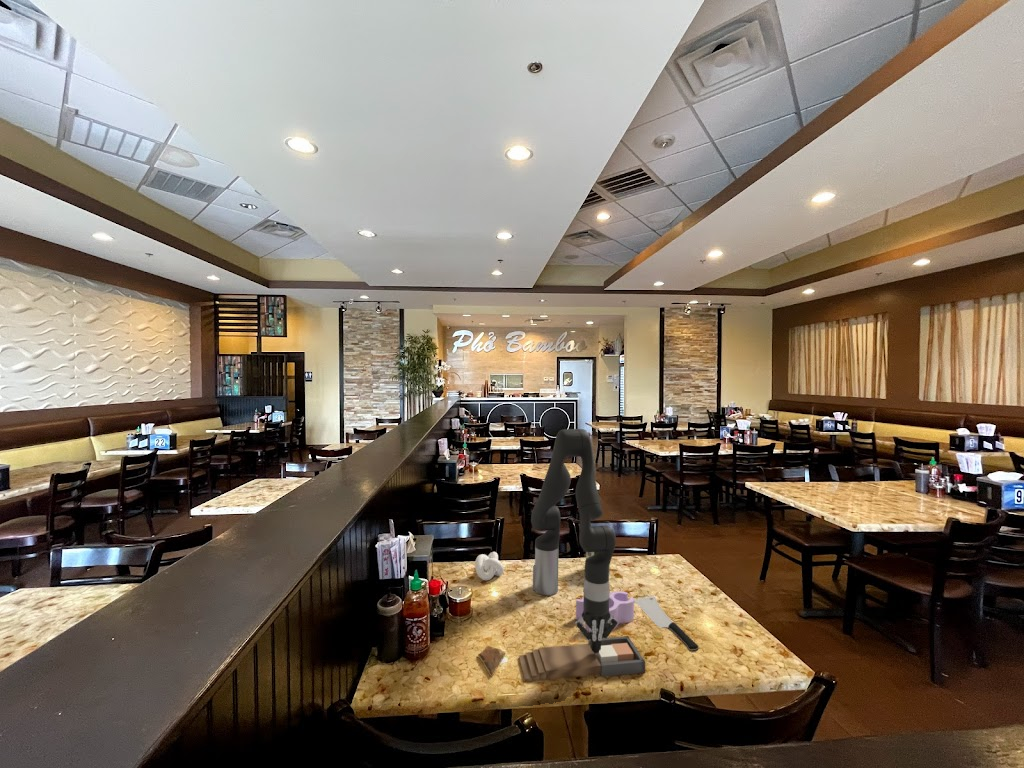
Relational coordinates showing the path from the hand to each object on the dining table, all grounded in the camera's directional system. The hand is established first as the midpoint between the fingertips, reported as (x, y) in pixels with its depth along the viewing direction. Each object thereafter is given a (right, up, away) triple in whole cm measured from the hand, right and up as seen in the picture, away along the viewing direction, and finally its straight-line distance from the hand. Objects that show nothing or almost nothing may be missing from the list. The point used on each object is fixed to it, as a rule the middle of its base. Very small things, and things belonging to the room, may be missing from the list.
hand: (595, 651), depth 127 cm
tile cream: (+3, -3, 0) cm, 4 cm away
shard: (-30, -4, 0) cm, 30 cm away
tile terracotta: (+8, -3, +1) cm, 9 cm away
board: (-8, -3, -1) cm, 9 cm away
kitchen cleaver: (+27, -4, +21) cm, 35 cm away
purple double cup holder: (+8, -3, +23) cm, 24 cm away
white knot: (-35, -2, +54) cm, 64 cm away
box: (+6, -3, +1) cm, 7 cm away
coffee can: (+12, -2, +58) cm, 59 cm away
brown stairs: (-19, -3, -3) cm, 19 cm away
